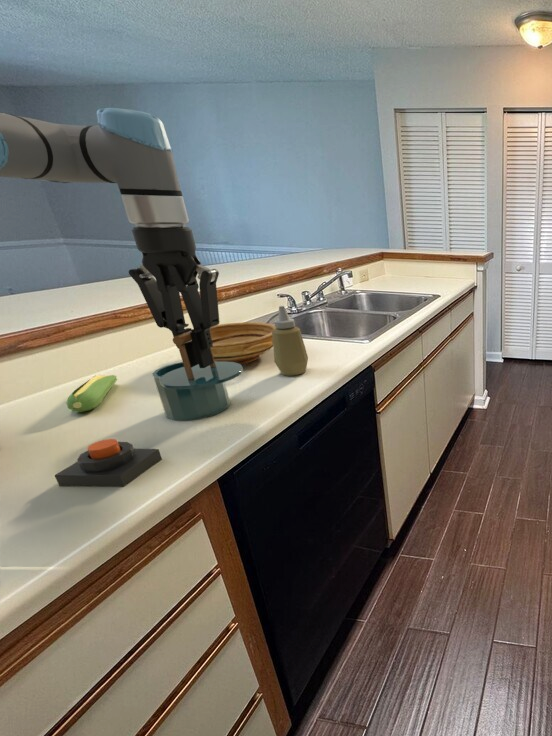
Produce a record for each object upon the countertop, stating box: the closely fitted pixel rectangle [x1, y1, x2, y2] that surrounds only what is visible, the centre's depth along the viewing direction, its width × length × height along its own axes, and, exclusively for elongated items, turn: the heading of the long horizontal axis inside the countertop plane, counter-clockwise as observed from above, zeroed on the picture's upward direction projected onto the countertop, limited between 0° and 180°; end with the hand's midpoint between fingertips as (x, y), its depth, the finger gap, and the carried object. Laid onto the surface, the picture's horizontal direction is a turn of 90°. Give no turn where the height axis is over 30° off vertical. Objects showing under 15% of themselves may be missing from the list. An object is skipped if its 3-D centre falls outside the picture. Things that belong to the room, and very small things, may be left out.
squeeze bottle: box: [272, 305, 309, 377], centre depth 110 cm, size 8×8×18 cm
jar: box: [151, 361, 231, 422], centre depth 90 cm, size 11×11×10 cm
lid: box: [159, 330, 244, 389], centre depth 75 cm, size 12×12×9 cm
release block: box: [54, 441, 163, 488], centre depth 69 cm, size 10×8×4 cm
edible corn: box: [66, 374, 118, 413], centre depth 95 cm, size 5×20×5 cm, turn 27°
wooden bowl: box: [210, 321, 276, 365], centre depth 121 cm, size 30×24×8 cm
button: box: [87, 438, 121, 459], centre depth 68 cm, size 4×4×2 cm
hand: (200, 365), depth 76 cm, fingers closed on lid, 2 cm apart
